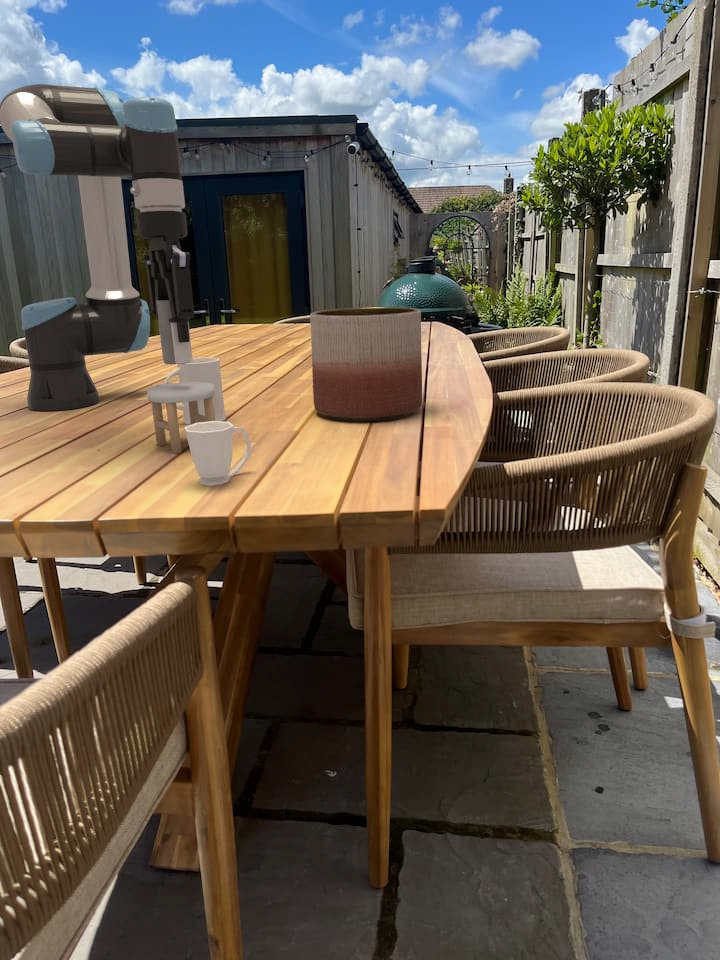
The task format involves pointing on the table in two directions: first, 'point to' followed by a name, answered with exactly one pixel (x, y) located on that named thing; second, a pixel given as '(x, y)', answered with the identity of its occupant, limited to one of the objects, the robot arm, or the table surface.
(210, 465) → the cup
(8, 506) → the table surface
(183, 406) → the white ceramic jug
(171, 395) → the stool
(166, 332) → the grey tube
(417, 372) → the planter
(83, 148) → the robot arm
